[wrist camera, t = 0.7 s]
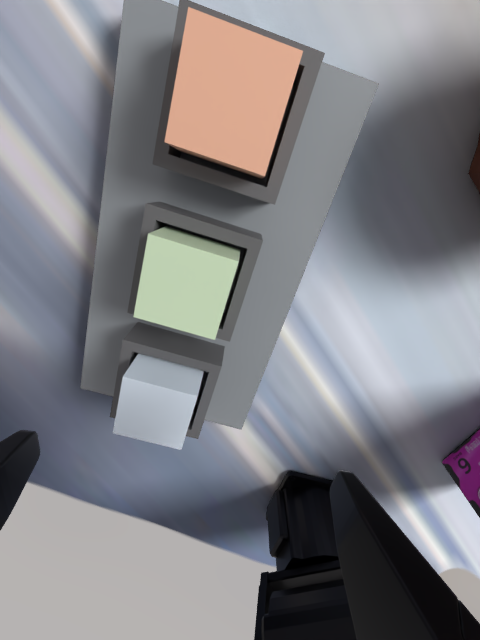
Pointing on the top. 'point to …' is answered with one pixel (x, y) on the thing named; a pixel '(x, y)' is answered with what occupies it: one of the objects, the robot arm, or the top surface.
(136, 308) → the sage button
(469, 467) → the candy bar box
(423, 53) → the top surface
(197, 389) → the slate button
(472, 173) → the muffin
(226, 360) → the button panel
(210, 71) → the terracotta button
